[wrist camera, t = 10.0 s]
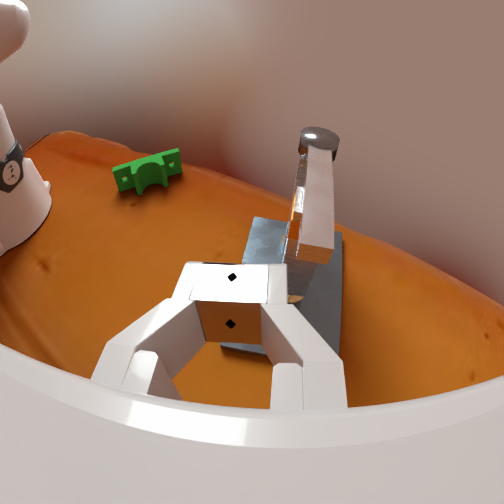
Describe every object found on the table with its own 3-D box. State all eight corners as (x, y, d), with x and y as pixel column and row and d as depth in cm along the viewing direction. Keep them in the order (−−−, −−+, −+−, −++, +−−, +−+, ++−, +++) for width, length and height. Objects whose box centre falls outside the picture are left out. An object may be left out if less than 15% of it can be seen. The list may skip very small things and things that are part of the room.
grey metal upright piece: (265, 335, 27) (286, 237, 16) (284, 228, 36) (302, 124, 25) (300, 341, 27) (348, 249, 15) (311, 233, 36) (338, 131, 24)
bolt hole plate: (220, 347, 27) (219, 344, 26) (253, 221, 38) (254, 215, 37) (334, 367, 26) (338, 364, 25) (339, 237, 37) (342, 231, 36)
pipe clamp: (121, 202, 40) (113, 180, 37) (119, 189, 42) (111, 167, 39) (186, 181, 44) (183, 158, 40) (181, 169, 46) (177, 147, 42)
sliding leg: (274, 297, 30) (292, 212, 20) (278, 272, 32) (295, 185, 22) (303, 302, 30) (335, 220, 20) (306, 277, 31) (334, 192, 22)
